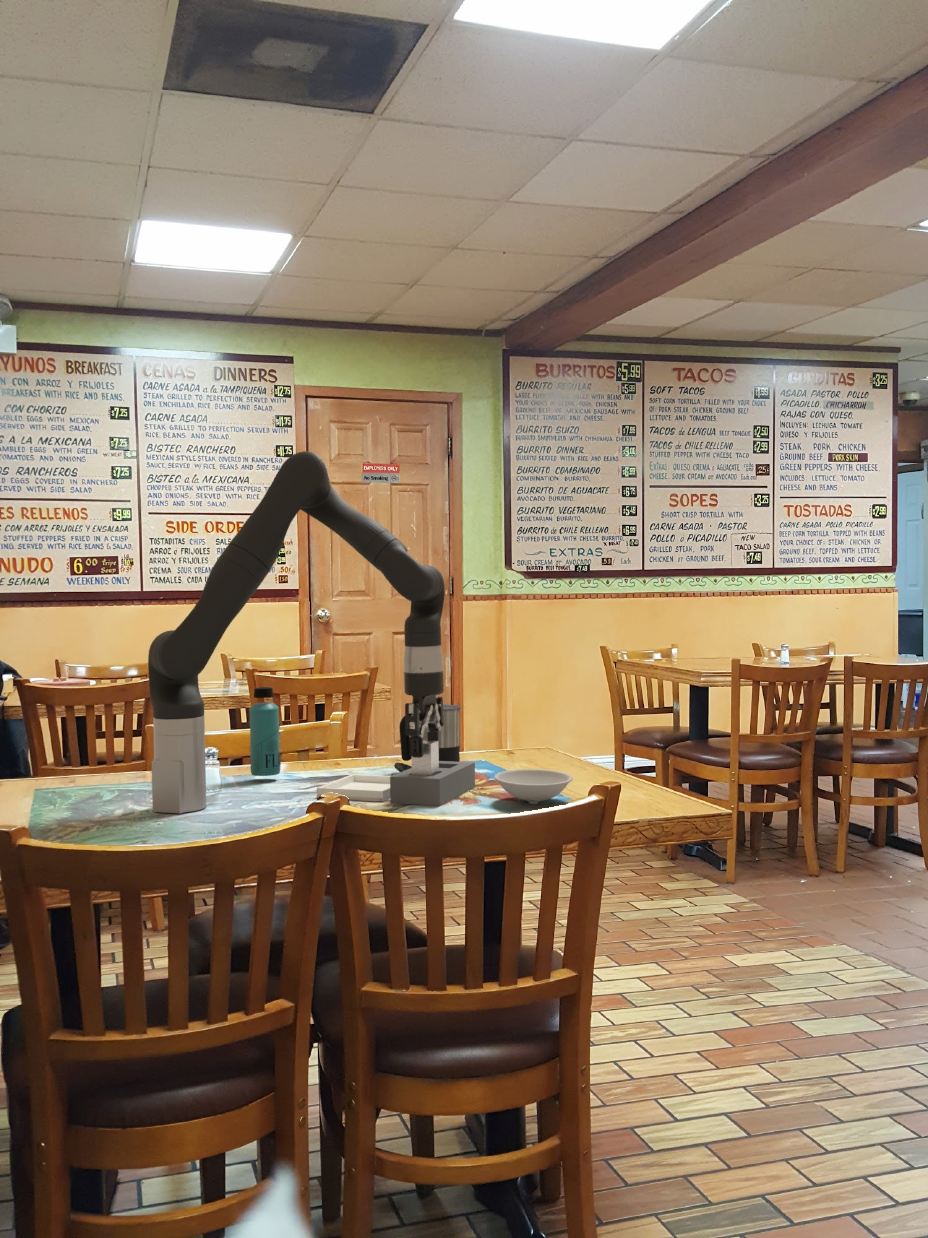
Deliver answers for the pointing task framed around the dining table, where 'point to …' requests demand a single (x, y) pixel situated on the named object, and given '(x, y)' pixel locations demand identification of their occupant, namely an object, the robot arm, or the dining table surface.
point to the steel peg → (427, 760)
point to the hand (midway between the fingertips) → (425, 753)
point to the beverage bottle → (264, 735)
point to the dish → (533, 783)
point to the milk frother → (446, 738)
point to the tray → (359, 787)
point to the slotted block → (433, 784)
